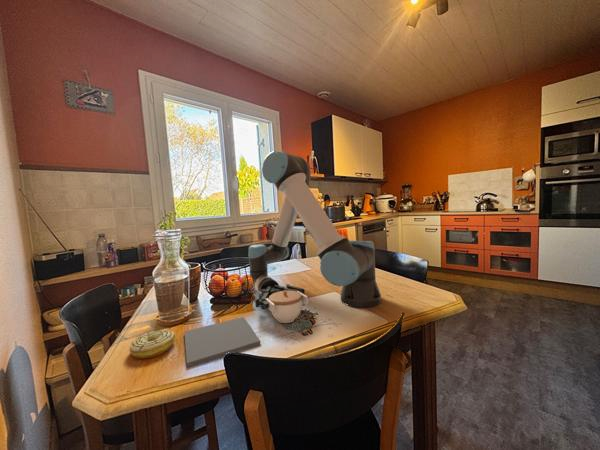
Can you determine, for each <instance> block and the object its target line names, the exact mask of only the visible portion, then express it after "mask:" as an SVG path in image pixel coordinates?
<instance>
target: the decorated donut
mask: <svg viewBox="0 0 600 450" xmlns="http://www.w3.org/2000/svg"><path fill="white" fill-rule="evenodd" d="M175 339H176V333H175V332H173V331H172V330H169V329H158V330H154V331H149V332H146V333H144V334H141V335H139V336H138V337H136V338H135V339H134V340H133V341H132V342H131V343H130V345H129V352H130V353H131V355H132V357H133V358H135V359H151V358H154V357H157V356H160V355H162V354H164V353H165V352H167V351H168V350H170V349H171V347H172V346H173V345H174V342H175Z"/></svg>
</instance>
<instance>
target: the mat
mask: <svg viewBox="0 0 600 450" xmlns="http://www.w3.org/2000/svg"><path fill="white" fill-rule="evenodd" d="M183 334H184V344H185V345H184V347H185V355H186V356H185V357H186V367H187V368H190V367H193V366H196V365H198V364H202V363H204V362H208V361H211V360H215V359H217V358H222V357H224V355H225V354H226V353H228V352H234V353H237V352H240V351H244V350H247V349H250V348H253V347H257V346H261V340H260V338H259V337H258V335H257V334H256V332H255V331H254V330H253V328H252V327H251V326H250V323H248V321H247V320H246V318H245V317H244V316H241V317H237V318H232V319H229V320H228V319H227V320H225V321H221V322H216V323H212V324H208V325H205V326H201V327H197V328H193V329H189V330H184V331H183ZM225 356H226V355H225Z"/></svg>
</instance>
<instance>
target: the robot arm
mask: <svg viewBox="0 0 600 450" xmlns="http://www.w3.org/2000/svg"><path fill="white" fill-rule="evenodd" d="M261 173H262V176H263V178H264V180H265V181H266V182H268V183H269V184H273V185H275V187H276V190H278V192H279V193H280V194H282V195H284V198H283V202H282V205H281V209H280V213H279V216H278V219H277V222H276V226H275V229H274V232H273V233H274V234H273V236H272V240H271V243H270V246H266V245H265V244H262V243H260V244H259V243H258V244H252V245H250V246H248V252H247V253H248V254H247V256H248V263H249V264H248V265H250V266H249V275H250V276H251V277H252V278H253V288H254V289H253V288H252V289H253V290H254V291H253V292H254V294H253V295H254V296H253V297H254V302H255V308H259V307H260V306H261V309H262V310H265V309H268V310H269V312H272V313H273V314H274V313H275V304H274V303H273V302H272V301H270V300H269V296H270V295H271V294H273V293H276V292H280V291H284V290H286V291H297V292H299V293H301V295H302V304H304V305H305V306H308V305H309V296H308V295H306V293H305V292H306V291H305V288H302V287H297V286H294V285H290V284H288V283H287V284H285V286H281V285H279V283H278V282H277V281H276V280H275V279H273V278H272V277H270V276H269V274H268V273H269V272H268V265H272V264H274V263H277V262H281V261H283V260H286V259H287V258H288V257H289V256H290V249H289V247H288V245H289V241H290V238H291V235H292V231H293V229H294V227H295V223H296V219H297V217H299V219H300V220H301V222H302V224H303V225H304V227H305V228H306V230H307V232H308V233H309V235H310V237H311V238H312V240H313V242H314V243H315V244H316V247H317V248H318V251H317V256H318V259H319V260H320V263H319V264H320V266H319V269H320V272H321V273H320V274H321V275H322V277H323V278H324V279H325V280H326V281H327V283H330V284H331V285H333V286H337V287H341V291H340V301H342V302H341V303H343V302H344V303H346V304H348V305H347V306H349V305H351V306H350V307H353V306H357V307H356V308H370V307H371V308H372V307H375V306H378V305H380V304H381V303H382V294H381V291H380V289H379V286H378V284H377V281H376V256H375V255H376V254H375V253H376V252H375V251H376V249H375V243H374V242H373V241H372V240H349V238H348V237H347V236H343V235H341V234H340V233H339V232H338V229H336V227H335V225H334V224H333V222H332V221H331V220H330V218H329V216H328V214H327V213H326V211H325V210H324V208H323V207H322V205H321V204H320V202H319V201H318V199H317V198H316V196H315V195H314V193H313V192H312V190H311V189H310V187H309V186H310V183H311V182H310V181H311V167H310V165H309V163H308V162H307V160H306V159H305V158H304V157H301V156H299V155H295V154H291V153H288V152H286V151H283V150H273V151H271V152H269V153H268V154H267V155H266V156H265V158H264V160H263V162H262V166H261ZM380 302H381V303H380ZM344 303H343V304H344ZM346 304H345V305H346ZM272 313H271V314H272Z"/></svg>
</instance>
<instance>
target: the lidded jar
mask: <svg viewBox="0 0 600 450" xmlns="http://www.w3.org/2000/svg"><path fill="white" fill-rule="evenodd" d="M269 300H270V301H272V302H273V303H274V304H275V313H274V314H273V313H272V312H271V311H270V312H271V315H272V316H273V317H274V319H276V320H277V322H278V323H280V324H289V323H293V322H294V320H295V319H296V320H297V318H298V316H300V313H301V311H302V304H303V303H302V295H301V293H299V292H297V291H286V290H284V291H280V292H276V293H273V294H271V295H270V296H269ZM296 320H295V321H296Z"/></svg>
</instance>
